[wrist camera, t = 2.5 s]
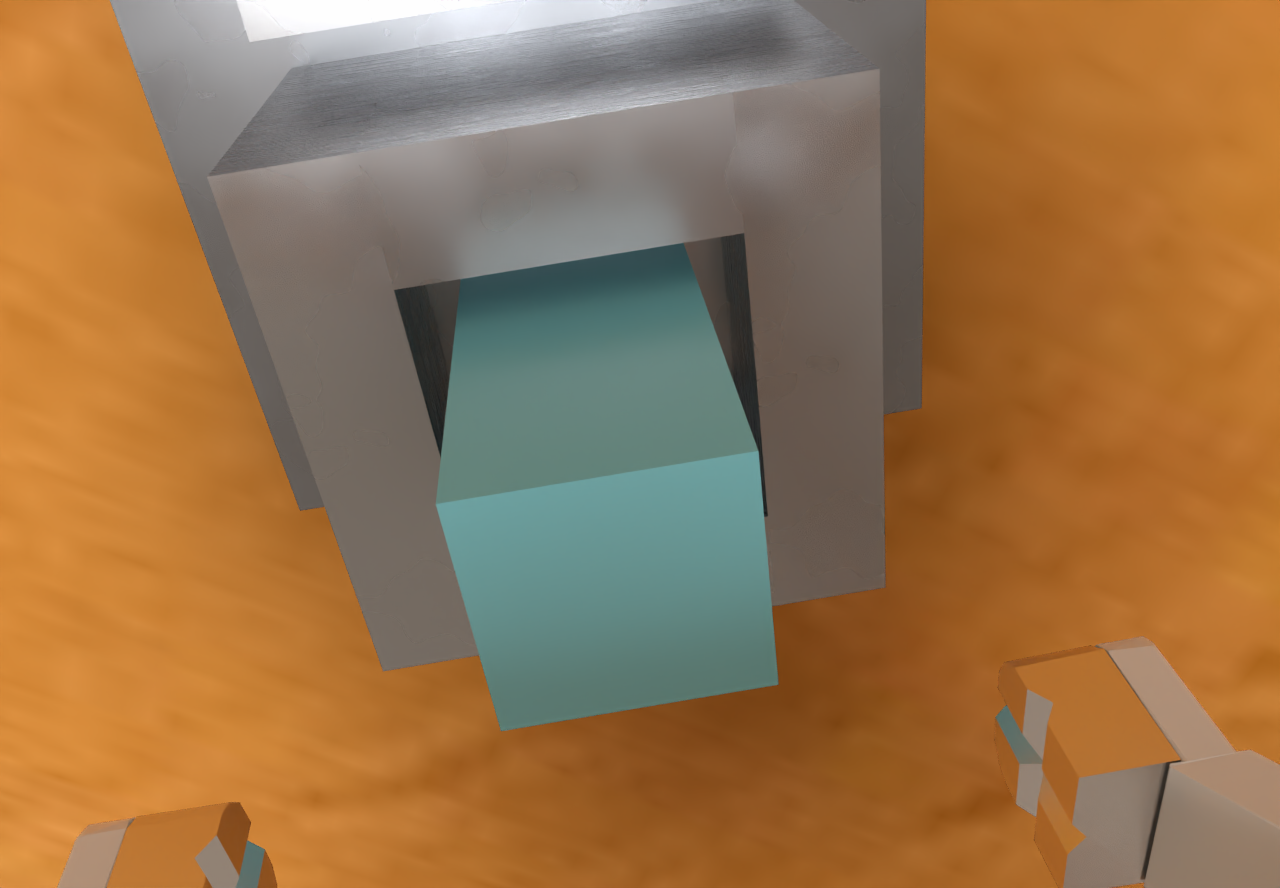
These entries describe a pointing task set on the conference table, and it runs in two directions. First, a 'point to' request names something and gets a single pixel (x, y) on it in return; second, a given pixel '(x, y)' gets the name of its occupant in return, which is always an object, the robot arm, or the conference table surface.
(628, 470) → the plug
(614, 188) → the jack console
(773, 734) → the conference table surface
